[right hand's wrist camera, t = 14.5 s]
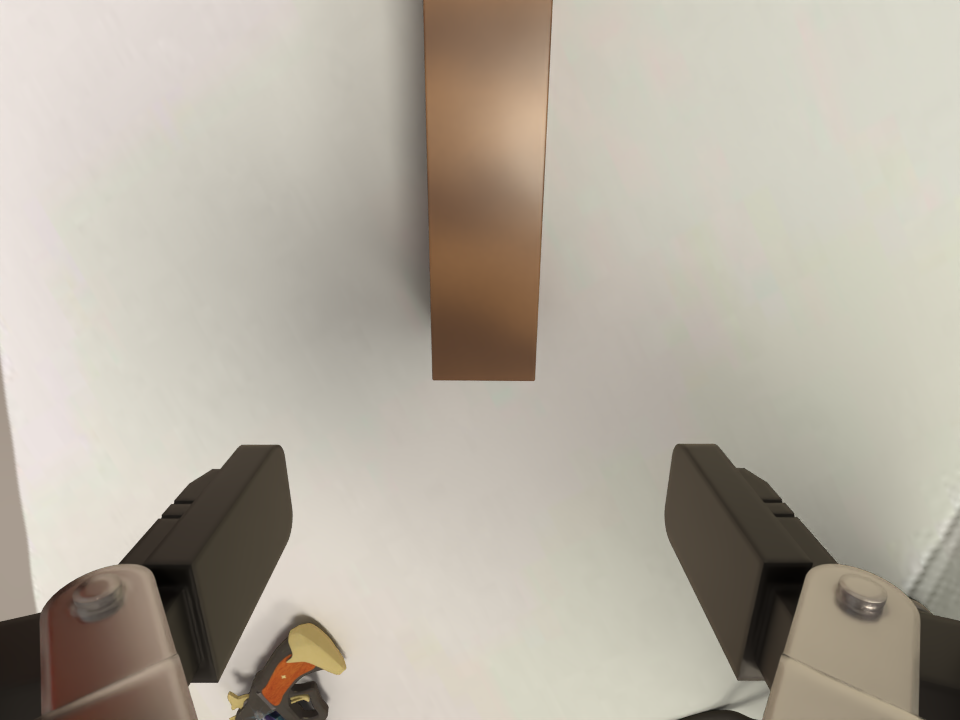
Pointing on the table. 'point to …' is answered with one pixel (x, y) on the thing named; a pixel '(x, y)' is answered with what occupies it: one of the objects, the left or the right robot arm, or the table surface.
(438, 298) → the bar
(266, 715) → the toy gun
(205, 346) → the table surface
